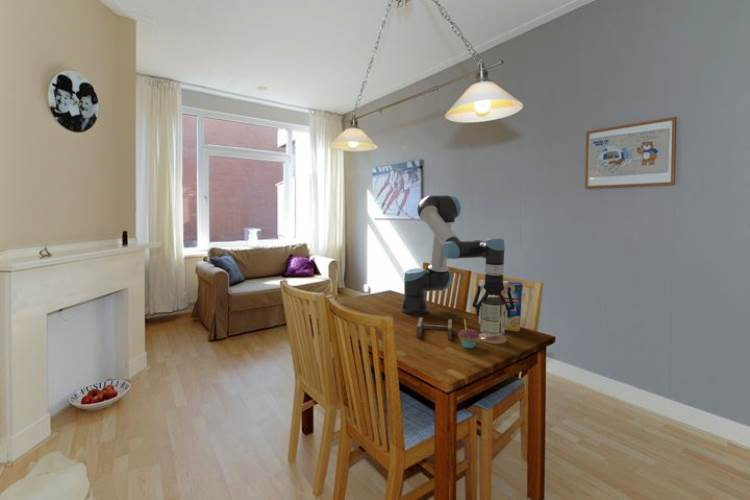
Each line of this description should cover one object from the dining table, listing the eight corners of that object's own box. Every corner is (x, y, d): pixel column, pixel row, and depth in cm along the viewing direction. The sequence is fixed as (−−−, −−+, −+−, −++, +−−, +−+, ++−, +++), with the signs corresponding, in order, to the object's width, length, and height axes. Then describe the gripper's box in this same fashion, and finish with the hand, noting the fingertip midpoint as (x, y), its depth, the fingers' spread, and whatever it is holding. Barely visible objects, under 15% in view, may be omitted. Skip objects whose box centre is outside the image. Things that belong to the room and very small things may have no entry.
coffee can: (479, 326, 165) (480, 296, 163) (502, 328, 163) (504, 297, 161) (481, 334, 155) (482, 302, 153) (506, 335, 153) (507, 303, 151)
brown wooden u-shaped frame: (419, 327, 175) (419, 317, 175) (451, 329, 172) (451, 319, 171) (416, 337, 161) (416, 326, 161) (451, 340, 158) (451, 328, 157)
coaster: (476, 333, 166) (476, 331, 166) (504, 335, 164) (504, 333, 164) (478, 342, 155) (478, 341, 155) (508, 344, 152) (508, 343, 152)
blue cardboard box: (496, 324, 179) (497, 280, 177) (519, 327, 175) (522, 282, 173) (495, 328, 173) (497, 283, 170) (520, 331, 169) (522, 285, 166)
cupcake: (458, 349, 147) (459, 320, 146) (457, 341, 156) (457, 314, 154) (480, 350, 146) (481, 321, 145) (477, 342, 155) (478, 315, 153)
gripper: (467, 274, 155) (466, 324, 157) (523, 276, 150) (521, 328, 152) (466, 271, 162) (465, 319, 164) (520, 273, 157) (518, 322, 160)
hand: (492, 323), depth 158 cm, fingers closed on coffee can, 10 cm apart
